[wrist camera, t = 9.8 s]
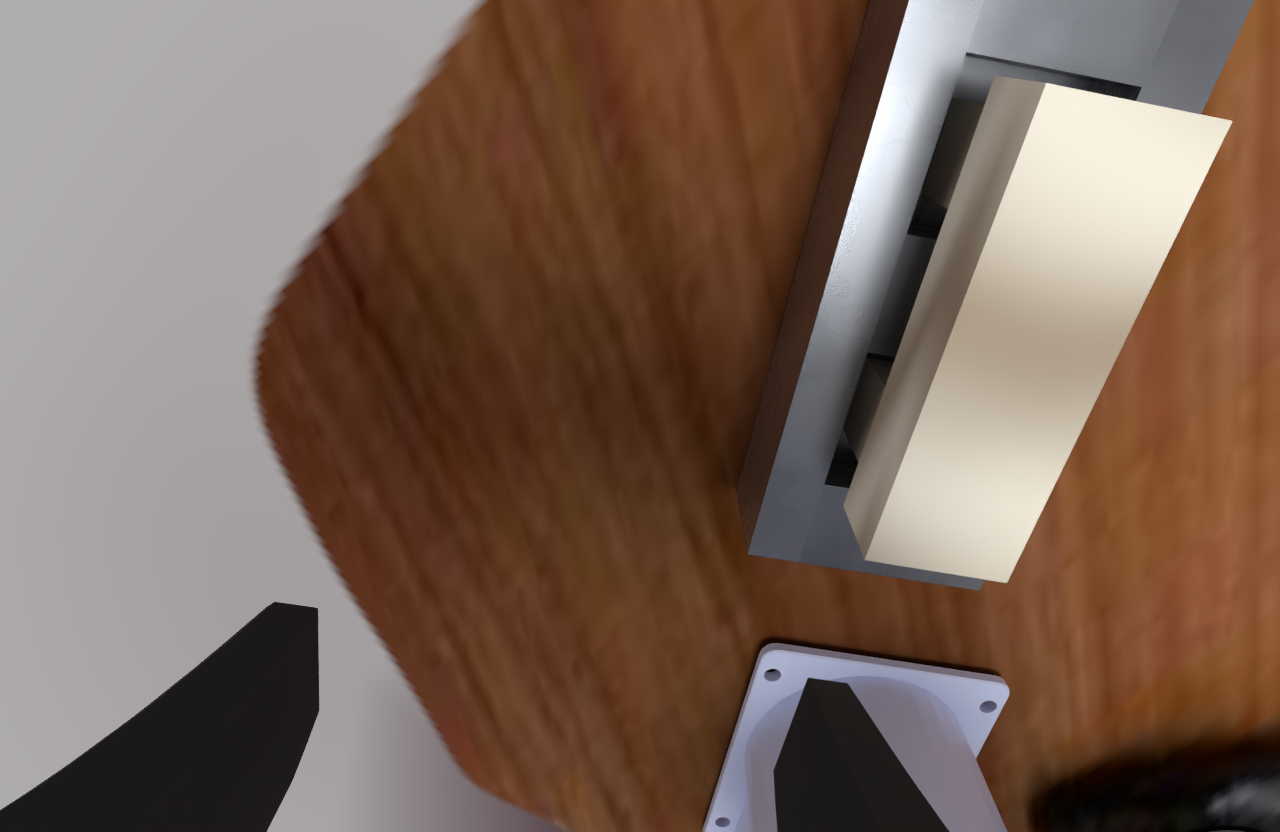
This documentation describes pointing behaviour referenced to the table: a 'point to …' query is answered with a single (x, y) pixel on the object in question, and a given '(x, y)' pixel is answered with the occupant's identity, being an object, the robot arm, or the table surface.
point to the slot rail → (924, 219)
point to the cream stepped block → (1015, 316)
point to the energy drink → (1228, 831)
